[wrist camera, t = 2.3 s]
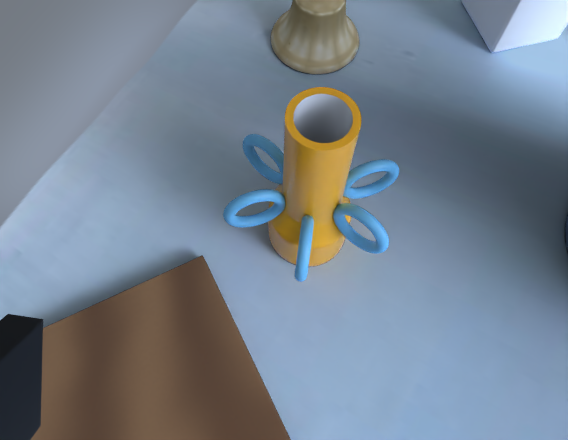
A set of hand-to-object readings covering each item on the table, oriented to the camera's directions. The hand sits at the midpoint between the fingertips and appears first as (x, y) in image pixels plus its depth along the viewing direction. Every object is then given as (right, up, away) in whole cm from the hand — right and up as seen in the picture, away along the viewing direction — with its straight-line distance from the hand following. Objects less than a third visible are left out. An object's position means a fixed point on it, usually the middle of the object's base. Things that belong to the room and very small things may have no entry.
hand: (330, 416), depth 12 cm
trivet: (-13, -9, +24) cm, 28 cm away
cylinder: (+1, +3, +30) cm, 30 cm away
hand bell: (+2, +21, +38) cm, 43 cm away
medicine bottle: (+21, +24, +39) cm, 50 cm away
